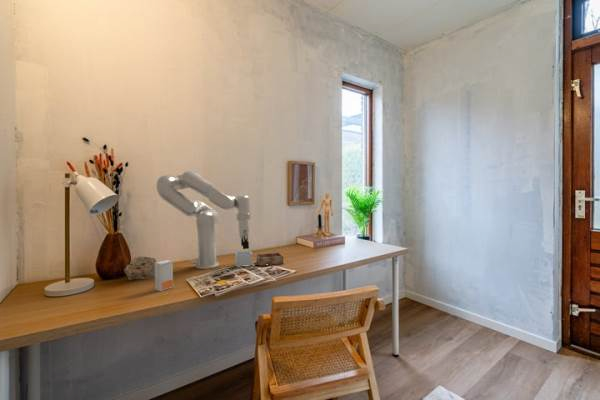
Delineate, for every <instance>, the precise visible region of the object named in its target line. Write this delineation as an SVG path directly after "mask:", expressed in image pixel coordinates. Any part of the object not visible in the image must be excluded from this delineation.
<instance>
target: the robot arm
mask: <svg viewBox="0 0 600 400" xmlns="http://www.w3.org/2000/svg"><path fill="white" fill-rule="evenodd" d="M185 189H191V190H193V191H194V192H196V193H198V194H199V195H201V196H202V197H204V198H205V199H207V200H208V201H209V202H210V203H213V205H216V206H217V207H219V208H221V209H223V210H226V211H228V210H232V209H235V210H236V211H235V212H236V221H238V236H239V238H240V243H241V244H240V245H241V246H242V249H243V250H246V249H249V248H250V246H249V245H250V244H249V242H250V241H249V238H250V233H249V231H250V229H249V221H250V220H251V210H250V209H251V207H250V197H249V196H248V195H238V196H234V195H226V194H225V193H224V192H222V191H220V190H219V189H217V188H216V186H214V184H213V183H212V182H211V181H209V180H207V179H205V178H204V177H202V176H201V175H200V174H199V173H198V172H196V171H191V170H190V171H189V170H188V171H184V172H183V173H182V174H178V175H171V174H169V175H168V174H165V175H162V176H160V177H159V178H158V179H157V181H156V192H157V193H158V196H160V197H161V199H162V200H164V201H165V202H166V203H168V204H169V205H171V207H173V208H175V209H176V210H177V211H179V212H180V213H182V214H184V215H185V216H186V217H195V218H196V219H195V221H196V222H195V223H196V230H197V253H198V254H197V255H198V256H197V259H190V261H189V264H190V265H191V264H192V265H195V268H196V269H199V270H208V269H213V268H217V267H218V266H220V262H218V261H217V244H216V240H217V239H216V227H215V225H216V224H217V223H218V221H219V218H220V217H219V213H218V212H217V211H216V210H214V208H212V207H211V206H209V205H208V204H206V203H204V202H203V201H201V200H199V199H191V198H189V197H188V196H186V195H185V194H183V193H182V192H180V191H179V190H185Z"/></svg>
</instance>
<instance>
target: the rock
mask: <svg viewBox="0 0 600 400" xmlns="http://www.w3.org/2000/svg"><path fill="white" fill-rule="evenodd" d="M130 261H131V262H130V264H129V265H127V264H126V265H127V266H126V267H125V268H124V270H123V271H124V274H125V275H126V276H127V278H128V281H132V280H152V279H155V263H156V262H157V261H156V259H155V257H150V256H136V257H134V258H132V259H131V260H130Z"/></svg>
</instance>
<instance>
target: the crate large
mask: <svg viewBox="0 0 600 400" xmlns="http://www.w3.org/2000/svg"><path fill="white" fill-rule="evenodd" d="M256 263H257V265H258V264H259V265H266V264H268V265H266V266H277V265H283V264H284V255H283V254H281V252H269V253H259V254H256ZM259 265H258V266H259Z"/></svg>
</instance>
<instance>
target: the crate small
mask: <svg viewBox="0 0 600 400" xmlns="http://www.w3.org/2000/svg"><path fill="white" fill-rule="evenodd" d="M234 253H235V255H234V256H235V260H234V261H235V267H236V266H243V265H254V264H253V262H254V261H253V252H252V251H239V252H238V251H237V252H236V251H235V252H234Z"/></svg>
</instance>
